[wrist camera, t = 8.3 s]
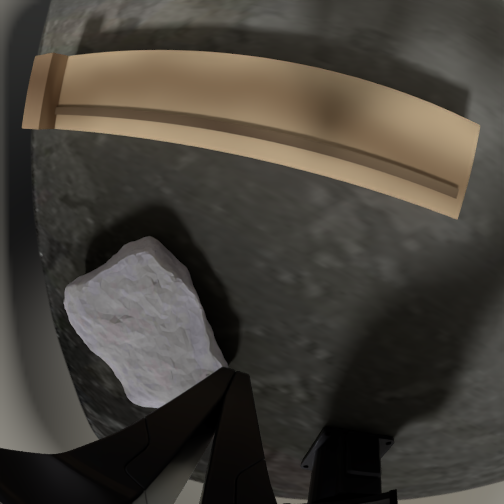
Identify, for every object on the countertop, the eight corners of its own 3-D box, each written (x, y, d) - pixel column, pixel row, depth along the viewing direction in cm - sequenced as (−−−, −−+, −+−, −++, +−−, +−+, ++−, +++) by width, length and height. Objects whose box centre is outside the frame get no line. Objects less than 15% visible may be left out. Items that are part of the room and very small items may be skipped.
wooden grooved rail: (440, 210, 15) (469, 226, 12) (61, 126, 19) (22, 128, 15) (461, 128, 14) (494, 124, 10) (73, 63, 17) (35, 56, 13)
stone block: (169, 214, 21) (75, 279, 23) (145, 226, 17) (42, 301, 18) (255, 348, 24) (157, 390, 25) (254, 386, 19) (141, 426, 20)
